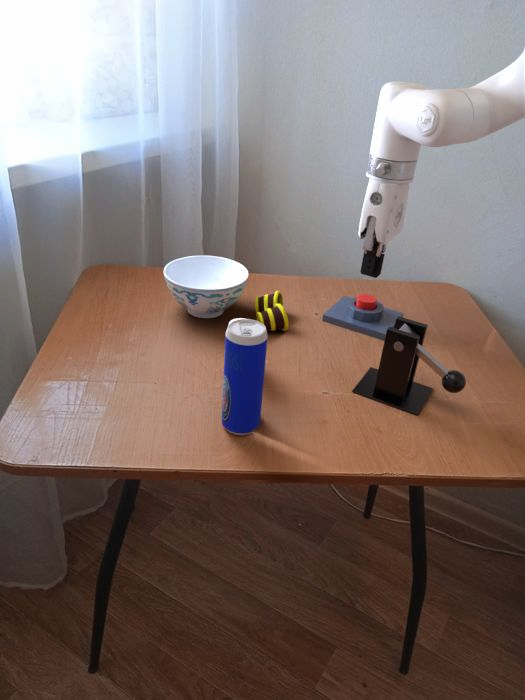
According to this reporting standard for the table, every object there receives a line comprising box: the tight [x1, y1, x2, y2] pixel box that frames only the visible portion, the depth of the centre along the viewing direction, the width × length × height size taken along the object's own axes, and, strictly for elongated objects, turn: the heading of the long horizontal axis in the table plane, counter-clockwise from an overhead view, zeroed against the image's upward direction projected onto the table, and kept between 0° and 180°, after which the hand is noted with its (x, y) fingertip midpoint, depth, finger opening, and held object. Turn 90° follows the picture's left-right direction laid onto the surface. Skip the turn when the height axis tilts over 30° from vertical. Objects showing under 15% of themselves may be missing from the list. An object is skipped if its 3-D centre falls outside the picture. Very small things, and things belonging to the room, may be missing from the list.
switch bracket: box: [351, 316, 434, 417], centre depth 81 cm, size 10×8×12 cm
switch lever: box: [399, 324, 467, 394], centre depth 79 cm, size 12×3×3 cm, turn 60°
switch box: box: [322, 295, 405, 341], centre depth 102 cm, size 12×10×4 cm
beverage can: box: [221, 318, 269, 436], centre depth 72 cm, size 5×5×15 cm
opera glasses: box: [254, 290, 290, 332], centre depth 100 cm, size 10×5×5 cm, turn 5°
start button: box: [356, 293, 378, 310], centre depth 101 cm, size 4×4×2 cm
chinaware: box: [163, 255, 249, 319], centre depth 102 cm, size 15×15×8 cm
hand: (370, 274), depth 99 cm, fingers closed
